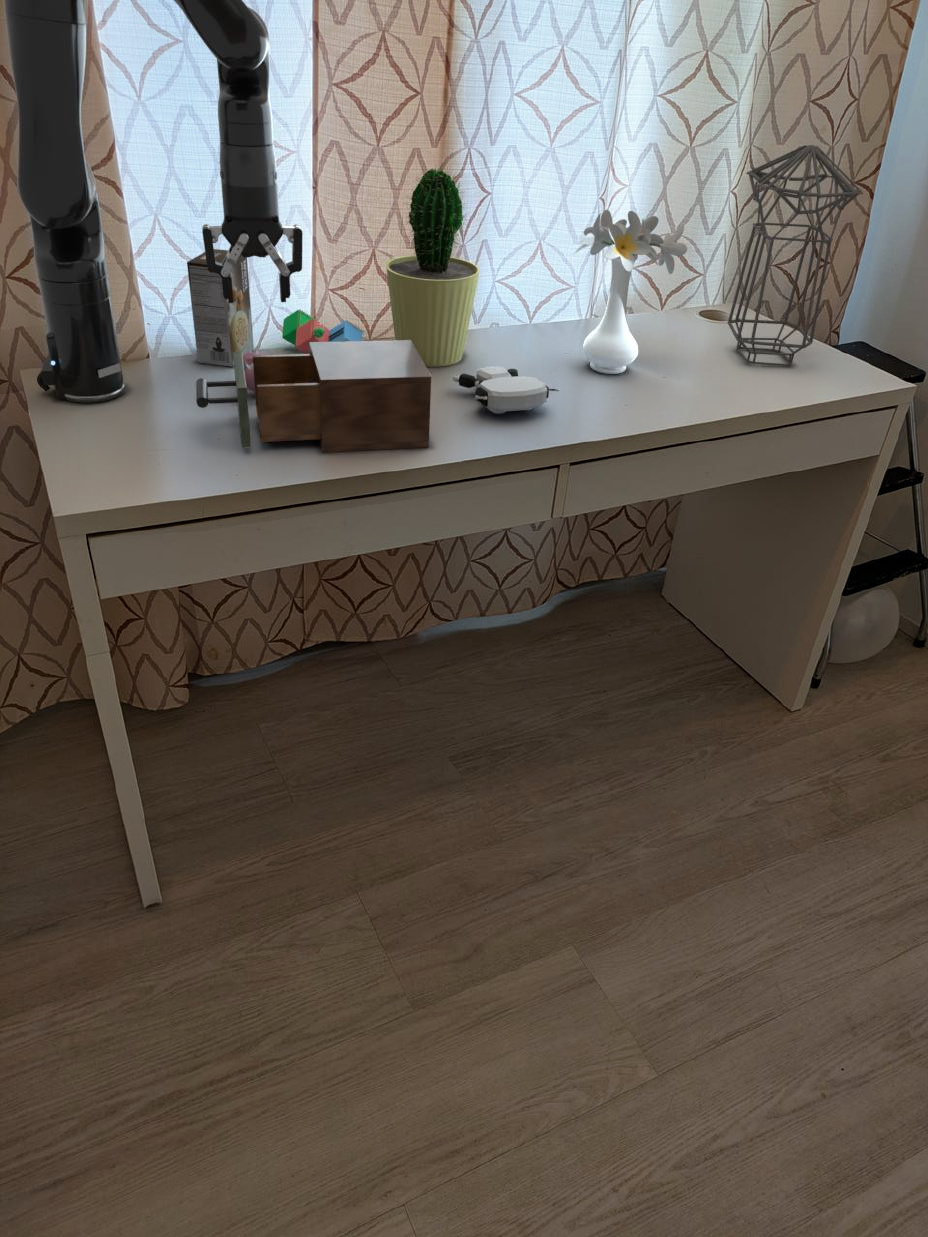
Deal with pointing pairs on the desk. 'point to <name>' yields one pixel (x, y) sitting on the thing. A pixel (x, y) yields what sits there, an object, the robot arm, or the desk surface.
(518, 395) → the robot toy
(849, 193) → the geometric lantern
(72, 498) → the desk surface
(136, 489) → the desk surface
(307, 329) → the building blocks
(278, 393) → the drawer
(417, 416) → the cabinet
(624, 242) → the flower vase
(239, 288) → the coffee box
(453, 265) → the potted cactus
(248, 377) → the video game controller
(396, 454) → the desk surface
